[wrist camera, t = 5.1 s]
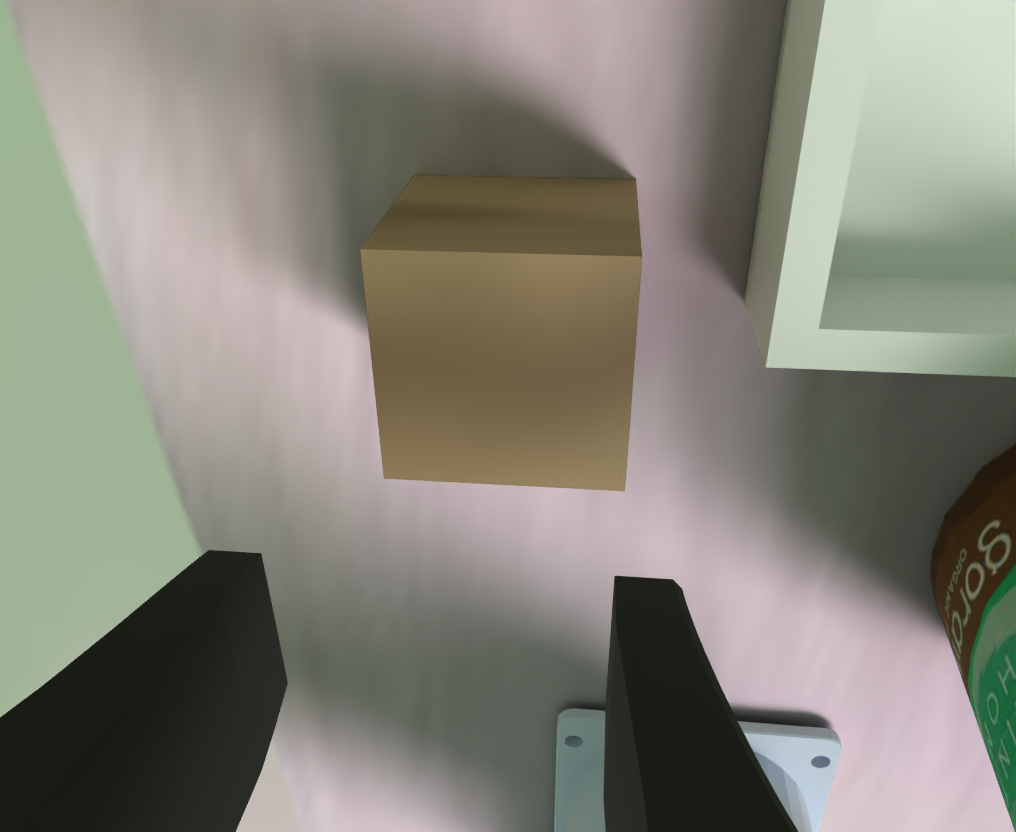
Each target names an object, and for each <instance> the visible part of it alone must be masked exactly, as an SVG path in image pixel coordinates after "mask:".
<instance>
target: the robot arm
mask: <svg viewBox="0 0 1016 832" xmlns="http://www.w3.org/2000/svg"><path fill="white" fill-rule="evenodd" d="M287 684H288V682H287V677H286V672H285V667H284V662H283V658H282V653H281V648H280V643H279V638H278V633H277V628H276V623H275V618H274V613H273V609H272V604H271V599H270V594H269V589H268V584H267V579H266V574H265V569H264V564H263V560H262V555H261V553H246V552H230V551H214V550H208V551H207V552H206V553H205V554H203V555H202V556H201V557H199V558H198V559H197V560H196V561H194V562H193V563H192V564H191V565H189V566H188V567H187V568H186V569H185V570H183V571H182V572H181V573H180V574H179V575H177V576H176V577H175V578H174V579H172V580H171V581H170V582H169V583H167V584H166V585H165V586H164V587H163V588H161V589H160V590H159V591H158V592H157V593H155V594H154V595H153V596H152V597H151V598H149V599H148V600H147V601H146V602H145V603H143V604H142V605H141V606H140V607H139V608H138V609H136V610H135V611H134V612H133V613H131V614H130V615H129V616H128V617H127V618H125V619H124V620H123V621H122V622H121V623H119V624H118V625H117V626H116V627H115V628H113V629H112V630H111V631H110V632H108V633H107V634H106V635H105V636H104V637H103V638H101V639H100V640H99V641H97V642H96V643H95V644H94V645H92V646H91V647H90V648H89V649H88V650H86V651H85V652H84V653H83V654H81V655H80V656H79V657H78V658H76V659H75V660H74V661H73V662H71V663H70V664H69V665H68V666H67V667H65V668H64V669H63V670H62V671H60V672H59V673H58V674H57V675H55V676H54V677H53V678H52V679H50V680H49V681H48V682H47V683H45V684H44V685H43V686H42V687H41V688H39V689H38V690H37V691H35V692H34V693H32V694H31V695H30V696H29V697H27V698H26V699H24V700H23V701H22V702H20V703H19V704H18V705H16V706H15V707H14V708H12V709H11V710H10V711H8V712H7V713H6V714H5V715H3V716H2V717H0V832H236V829H237V827H238V825H239V822H240V820H241V817H242V815H243V813H244V811H245V808H246V806H247V804H248V801H249V799H250V797H251V794H252V792H253V790H254V787H255V785H256V783H257V780H258V778H259V775H260V773H261V770H262V768H263V764H264V761H265V758H266V755H267V752H268V748H269V745H270V742H271V739H272V736H273V732H274V729H275V726H276V722H277V719H278V715H279V712H280V708H281V705H282V701H283V698H284V694H285V691H286V687H287ZM841 751H842V745H841V741H840V738H839V736H838V734H837V733H836V732H834V731H833V730H831V729H826V728H818V727H805V726H792V725H780V724H767V723H754V722H741V721H737V719H736V717H735V715H734V713H733V711H732V709H731V707H730V705H729V703H728V701H727V699H726V697H725V695H724V693H723V691H722V689H721V687H720V684H719V682H718V680H717V678H716V676H715V673H714V671H713V669H712V667H711V664H710V662H709V660H708V658H707V655H706V653H705V651H704V648H703V646H702V644H701V641H700V639H699V636H698V634H697V631H696V629H695V626H694V623H693V621H692V618H691V615H690V612H689V610H688V607H687V604H686V601H685V597H684V594H683V590H682V588H681V587H680V586H679V585H678V584H677V583H676V582H675V581H674V580H673V579H657V578H641V577H626V576H615V578H614V592H613V607H612V621H611V635H610V650H609V664H608V678H607V693H606V707H605V711H601V710H589V709H576V708H574V709H567V710H565V711H562V712H561V713H560V714H559V716H558V720H557V745H556V781H555V817H554V832H818V831H819V828H820V824H821V821H822V817H823V814H824V810H825V807H826V804H827V800H828V797H829V793H830V790H831V786H832V783H833V779H834V776H835V772H836V769H837V765H838V762H839V758H840V755H841Z"/></svg>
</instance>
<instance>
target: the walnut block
mask: <svg viewBox="0 0 1016 832" xmlns="http://www.w3.org/2000/svg"><path fill="white" fill-rule="evenodd" d="M360 254H361V263H362V273H363V282H364V292H365V301H366V311H367V320H368V330H369V340H370V349H371V359H372V368H373V378H374V387H375V397H376V407H377V416H378V426H379V435H380V445H381V454H382V464H383V474H384V478H385V479H404V480H423V481H442V482H461V483H480V484H499V485H518V486H537V487H556V488H575V489H594V490H613V491H625V484H626V470H627V456H628V442H629V428H630V414H631V400H632V386H633V373H634V359H635V345H636V331H637V317H638V303H639V289H640V275H641V262H642V252H641V239H640V226H639V214H638V201H637V188H636V179H614V178H558V177H502V176H445V175H414V177H413V178H412V179H411V181H410V182H409V183H408V185H407V186H406V187H405V189H404V190H403V192H402V193H401V194H400V196H399V197H398V198H397V200H396V201H395V202H394V204H393V205H392V206H391V208H390V209H389V211H388V212H387V213H386V215H385V216H384V217H383V219H382V220H381V221H380V223H379V224H378V226H377V227H376V228H375V230H374V231H373V232H372V234H371V235H370V236H369V238H368V239H367V240H366V242H365V243H364V245H363V246H362V247H361V249H360Z"/></svg>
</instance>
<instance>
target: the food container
mask: <svg viewBox="0 0 1016 832" xmlns="http://www.w3.org/2000/svg"><path fill="white" fill-rule="evenodd" d="M931 581H932V588H933V594H934V599H935V601H936V604H937V607H938V610H939V613H940V616H941V619H942V622H943V625H944V627H945V630H946V633H947V636H948V639H949V642H950V645H951V648H952V651H953V653H954V656H955V659H956V662H957V665H958V668H959V671H960V674H961V677H962V679H963V682H964V685H965V688H966V691H967V694H968V697H969V700H970V703H971V706H972V708H973V711H974V714H975V717H976V720H977V723H978V726H979V729H980V732H981V734H982V737H983V740H984V743H985V746H986V749H987V752H988V755H989V758H990V760H991V763H992V766H993V769H994V772H995V775H996V778H997V781H998V784H999V787H1000V789H1001V792H1002V795H1003V798H1004V801H1005V804H1006V807H1007V810H1008V813H1009V815H1010V818H1011V821H1012V824H1013V827H1014V830H1015V832H1016V443H1014V444H1013V445H1012V446H1010V447H1009V448H1008V449H1006V450H1005V451H1004V452H1002V453H1001V454H1000V455H998V456H997V457H996V458H994V459H993V460H992V461H990V462H989V463H988V464H986V465H985V466H984V467H982V468H981V470H980V471H979V472H978V474H977V475H976V476H975V478H974V479H973V480H972V481H971V483H970V484H969V485H968V487H967V488H966V489H965V490H964V492H963V493H962V494H961V496H960V497H959V498H958V500H957V501H956V502H955V503H954V505H953V506H952V507H951V509H950V510H949V511H948V513H947V514H946V515H945V518H944V521H943V524H942V526H941V529H940V532H939V535H938V538H937V541H936V544H935V547H934V549H933V552H932V564H931Z"/></svg>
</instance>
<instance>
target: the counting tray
mask: <svg viewBox="0 0 1016 832" xmlns="http://www.w3.org/2000/svg"><path fill="white" fill-rule="evenodd" d="M745 305H746V308H747V311H748V314H749V317H750V320H751V324H752V327H753V330H754V333H755V336H756V339H757V342H758V345H759V348H760V351H761V354H762V357H763V360H764V363H765V367H769V368H795V369H820V370H846V371H871V372H897V373H922V374H948V375H974V376H999V377H1016V0H787V5H786V12H785V19H784V26H783V33H782V40H781V47H780V54H779V61H778V68H777V76H776V83H775V90H774V97H773V104H772V111H771V118H770V125H769V132H768V139H767V146H766V153H765V160H764V168H763V175H762V182H761V189H760V196H759V203H758V210H757V217H756V224H755V231H754V238H753V245H752V252H751V260H750V267H749V274H748V281H747V288H746V295H745Z"/></svg>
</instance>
